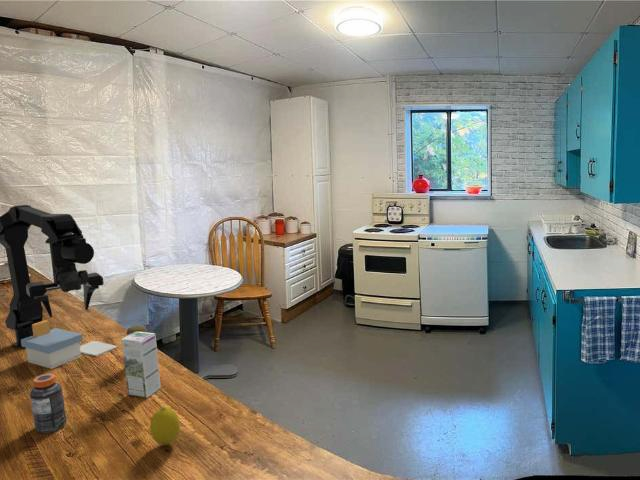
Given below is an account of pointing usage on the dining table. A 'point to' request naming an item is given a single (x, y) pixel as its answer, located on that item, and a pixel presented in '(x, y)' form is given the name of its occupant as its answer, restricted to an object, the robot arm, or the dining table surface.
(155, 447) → the dining table surface
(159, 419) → the lemon
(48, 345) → the lid
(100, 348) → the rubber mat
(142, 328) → the cork
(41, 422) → the pill bottle
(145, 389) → the syrup box
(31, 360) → the parts tub
